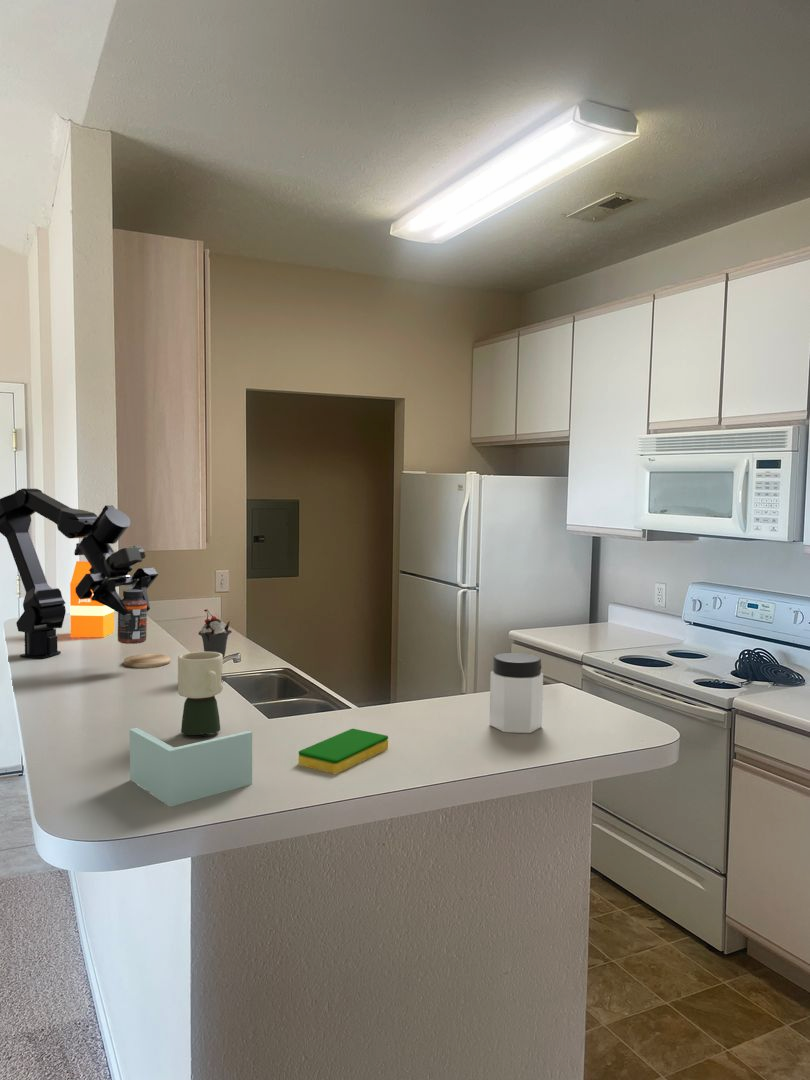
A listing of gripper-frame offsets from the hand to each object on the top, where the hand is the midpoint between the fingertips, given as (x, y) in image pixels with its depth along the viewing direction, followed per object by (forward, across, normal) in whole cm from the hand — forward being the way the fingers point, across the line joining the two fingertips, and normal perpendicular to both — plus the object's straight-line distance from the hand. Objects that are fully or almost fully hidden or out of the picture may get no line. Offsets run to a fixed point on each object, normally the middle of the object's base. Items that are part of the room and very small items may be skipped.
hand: (137, 612), depth 172 cm
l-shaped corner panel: (+48, -42, -31) cm, 71 cm away
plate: (+6, +8, +13) cm, 16 cm away
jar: (+68, +5, -52) cm, 86 cm away
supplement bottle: (+4, 0, +6) cm, 7 cm away
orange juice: (-20, +24, +40) cm, 51 cm away
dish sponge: (+57, -22, -39) cm, 73 cm away
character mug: (+39, -26, -21) cm, 51 cm away
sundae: (+22, +4, -4) cm, 23 cm away
